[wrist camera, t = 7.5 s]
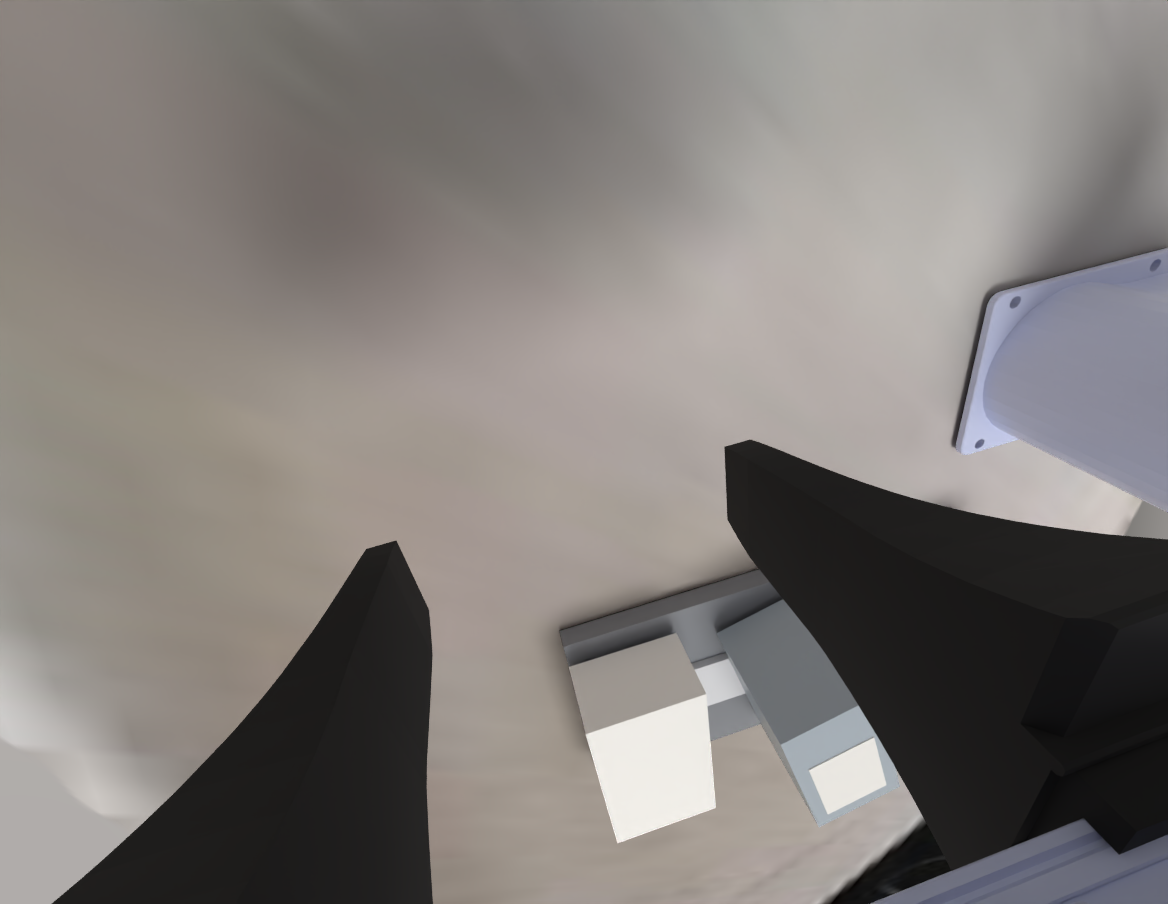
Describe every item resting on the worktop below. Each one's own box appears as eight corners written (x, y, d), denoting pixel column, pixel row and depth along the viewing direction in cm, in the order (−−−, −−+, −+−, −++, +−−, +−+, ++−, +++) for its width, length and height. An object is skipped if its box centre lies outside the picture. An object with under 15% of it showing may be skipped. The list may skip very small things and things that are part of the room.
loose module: (795, 592, 27) (879, 696, 22) (825, 684, 32) (900, 787, 27) (716, 633, 27) (781, 745, 22) (758, 719, 32) (819, 828, 27)
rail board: (952, 509, 29) (1038, 569, 25) (918, 653, 35) (982, 720, 31) (559, 631, 26) (581, 720, 22) (597, 762, 33) (620, 851, 28)
